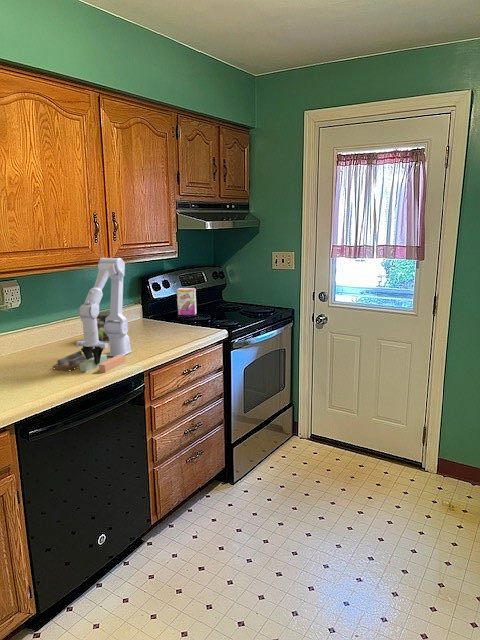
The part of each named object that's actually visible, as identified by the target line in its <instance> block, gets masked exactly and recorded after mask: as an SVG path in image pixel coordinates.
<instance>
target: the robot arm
mask: <svg viewBox="0 0 480 640" xmlns="http://www.w3.org/2000/svg"><path fill="white" fill-rule="evenodd" d="M125 268H126V263H125V261H124V260H123V258H121V257H101V258H100V259H99V260H98V264H97V269H98V273H97V275H96V279H95V283H94V285H93V287H92V288H90V289H89V291H88V293H87V296H86V297H85V300H84V303H83V304H81V305H80V306H79V308H78V313H77V314H78V316H79V318H80V322H82V331H83V338H84V339H83V340H78V341H76V347H82V348H81V349H80V351H82V354H84V355H85V356H86V359H87V360H89V359H91V358H93V356H92V355H94V361H95V364H96V365H97V364H99V363H100V357H101V354H103V351H104V350H107V349H108V348H109V353H107V354H106V355H107V357H112V358H113V357H115V356H117V355H125V356H127V355H129V354H130V353H133V350H132V349H131V340H130V336H129V335H128V332H129V323H128V318H126V316H125V315H123V302H124V301H123V300H124V299H123V297H124V295H123V294H124V277H125V272H126V271H125V270H126V269H125ZM109 279H110V280H111V281H110V282H111V283H110V303H109V304H110V306H109V311H110V315H109V316H108V317H106V318H105V324H104V332H105V333H106V334H107V336H109V345H108V343H103V342H100V341H99V338H98V328H97V318H96V317H97V316H98V314H99V312H100V303H101V300H102V298H103V295H104V293H103V291H102V290H103V288H104V287H105V286H106V283H107V281H108V280H109ZM113 320H117V321H113Z"/></svg>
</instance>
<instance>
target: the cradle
mask: <svg viewBox="0 0 480 640" xmlns="http://www.w3.org/2000/svg"><path fill="white" fill-rule="evenodd" d="M92 356H93V357H94V355H93V354H92ZM84 361H87V359H86V356H85V355H84V353H83V352H82V351H81V350H78V351H76V352H73V353H71V354H69V355H67V356H64V357H61V358H60V359H57V363H56V364H54V365H52V369H53V368H55V369H54V370H56V369H61V370H60V371H64V370H72V369H74V368H76V369H78V368H80V367H79V366H80V363H82V362H84ZM77 367H78V368H77ZM74 370H75V369H74ZM72 371H73V370H72Z"/></svg>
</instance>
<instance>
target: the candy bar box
mask: <svg viewBox="0 0 480 640" xmlns="http://www.w3.org/2000/svg"><path fill="white" fill-rule="evenodd" d="M196 291H197V290H196V288H195V287H194V288H193V287H191V288H189V287H188V288H187V287H179V288H177V289H176V301H177V302H176V303H177V306H176V307H177V316H196V315H197V311H198V310H197V294H196V293H197V292H196Z"/></svg>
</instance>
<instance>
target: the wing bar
mask: <svg viewBox="0 0 480 640" xmlns="http://www.w3.org/2000/svg"><path fill="white" fill-rule="evenodd" d="M125 363H126V355H117V356H115V357H113V356H112V357H111V358H109V359H107V361H105V362H103V363H101V364H99V366H98V370H99V371H98V372H99V373H104V374H105V373H107V372H110V371H112V370H114V369H115V368H117V367H119V366H121V365H123V364H125Z"/></svg>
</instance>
